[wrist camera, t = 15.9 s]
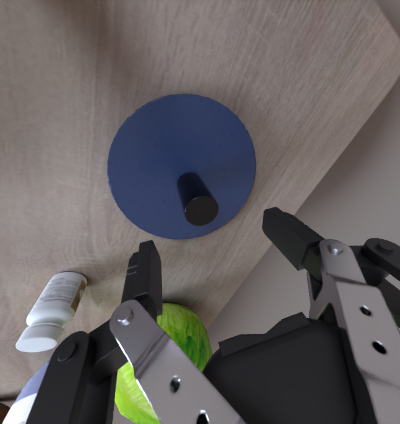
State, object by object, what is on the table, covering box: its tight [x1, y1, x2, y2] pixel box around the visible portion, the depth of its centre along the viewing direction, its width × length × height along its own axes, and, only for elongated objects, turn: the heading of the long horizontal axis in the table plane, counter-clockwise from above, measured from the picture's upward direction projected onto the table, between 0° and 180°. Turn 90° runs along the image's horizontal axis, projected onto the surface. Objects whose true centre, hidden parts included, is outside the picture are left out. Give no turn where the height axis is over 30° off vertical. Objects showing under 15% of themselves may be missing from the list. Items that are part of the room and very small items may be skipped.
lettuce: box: [115, 303, 213, 424], centre depth 27 cm, size 17×20×17 cm
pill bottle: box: [16, 272, 87, 352], centre depth 20 cm, size 4×4×8 cm
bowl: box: [2, 361, 49, 424], centre depth 31 cm, size 16×16×10 cm
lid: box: [107, 94, 256, 239], centre depth 16 cm, size 17×17×7 cm
